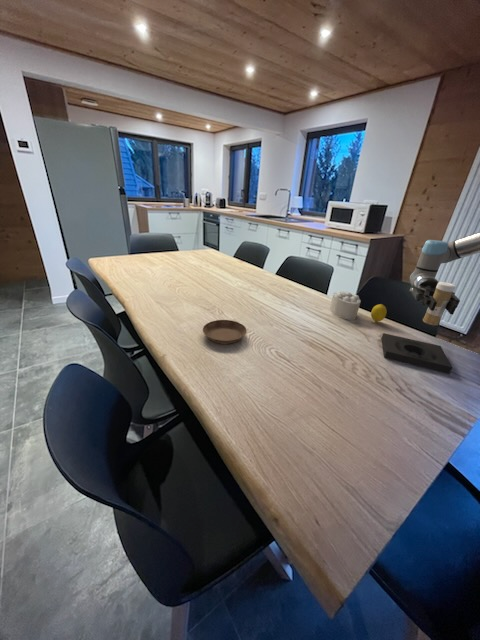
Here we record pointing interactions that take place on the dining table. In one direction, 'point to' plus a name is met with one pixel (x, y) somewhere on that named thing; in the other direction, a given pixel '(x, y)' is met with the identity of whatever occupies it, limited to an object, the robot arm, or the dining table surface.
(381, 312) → the lemon
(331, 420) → the dining table surface
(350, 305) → the lumpy-topped squat cylinder
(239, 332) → the saucer
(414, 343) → the dock pad
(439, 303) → the sprinkles bottle
